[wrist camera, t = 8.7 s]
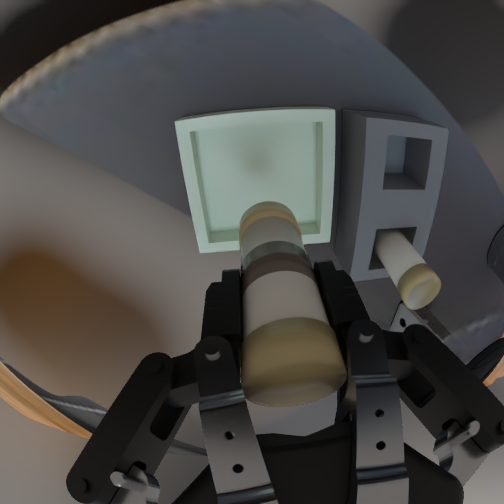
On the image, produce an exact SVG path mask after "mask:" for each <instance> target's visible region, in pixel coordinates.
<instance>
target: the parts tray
mask: <svg viewBox="0 0 504 504" xmlns="http://www.w3.org/2000/svg"><path fill="white" fill-rule="evenodd" d="M175 127H176V133H177V139H178V145H179V151H180V157H181V163H182V168H183V174H184V179H185V184H186V189H187V195H188V200H189V205H190V209H191V214H192V219H193V224H194V228H195V233H196V238H197V242H198V247H199V251H200V253H209V252H220V251H232V250H240V247H239V223H240V220H241V217H242V216H243V214H244V213H245V211H246V210H247V209H249V208H250V207H251V206H253V205H255V204H257V203H260V202H265V201H274V202H278V203H281V204H283V205H285V206H287V207H288V208H289V209H290V210H291V211H292V212H293V214H294V216H295V218H296V221H297V223H298V226H299V229H300V231H301V235H302V242H303V244H313V243H324V242H330V234H331V222H332V208H333V191H334V168H335V109H332V108H328V107H319V106H297V107H269V108H253V109H241V110H231V111H222V112H214V113H207V114H200V115H193V116H187V117H182V118H180V119H178V120H176V121H175Z"/></svg>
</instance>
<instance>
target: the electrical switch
mask: <svg viewBox="0 0 504 504" xmlns="http://www.w3.org/2000/svg"><path fill="white" fill-rule="evenodd" d="M424 316H425V317H424ZM426 318H427V319H428V320H429V321H430V322H428V321H427V320H426ZM411 324H420V325H423V326H425V327H427V328H428V329H429V330H430V331H431V332H432V333H433V334H434V335H435V336H436V337H437V338H439V339H440V340H441V341H442V342H443V343H444V344H445V342H446V341H447V339H448V337H449V336H450V332H449V331H448V330H447V329H446V328H445V327H444V326H443V325H442V324H441V322H440V321H439V320H438V319H437V318H436V317H435V316H434V315H433V314H432V313H431V312H430V311H429V310H428V309H427V308H426V307H425V306H424V307H422V308H420V309H415V310H411V309H408V308H407V307H406V305H405V303H404V302H403V303H401V304H400V305H399V308H398V310H397V313H396V315H395V318H394V320H393V323H392V325H391V327H390V330H389V331H393V332H403V331H404V330H405V328H406V327H407V326H409V325H411ZM431 328H432V329H431Z"/></svg>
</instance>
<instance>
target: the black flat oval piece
mask: <svg viewBox="0 0 504 504" xmlns="http://www.w3.org/2000/svg"><path fill="white" fill-rule="evenodd" d="M503 355H504V338H502V339H499V340H498V341H496V342H494V343H493V344H491V345H490V346H489V347H487V348H486V349H485V350H483V351H482V352H481V353H480V354H479V355H477V356H476V357H475V358H474V359H473V360H472V361H471V362H470V363H469V364H468V365H466V366H467V367H468V368H469V369H470V370H471V371H472V372H473V373H474V374H475V375H476V376H477V377H478V378H479V379H480V381H481V382H483V381H484V380H485V379H486V378H487V377H488V376H489V375H490V374H491V372H492V371H493V370H494V368H495V367H496V366H497V364H498V363H499V362H500V360H501V359H502V357H503Z"/></svg>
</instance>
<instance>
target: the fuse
mask: <svg viewBox="0 0 504 504" xmlns="http://www.w3.org/2000/svg"><path fill="white" fill-rule="evenodd" d="M373 250H374V251H375V253H376V254H377V256H378V257H379V259H380V261H381V262H382V264H383V265H384V267H385V269H386V270H387V272H388V274H389V275H390V277H391V278H392V280H393V282H394V284H395V285H396V287H397V291H398V293H399V294H400V296H401V298H402V300H403V302H404V303H405V305H406V307H407V308H408V309H411V310H415V309H420V308H422V307H424V306H426V305H427V304H429V303H430V302H431V301H432V300H433V299H434V298H435V297H436V296H437V294H438V293H439V291H440V288H441V281H440V279H439V278H438V276H437V275H436V274H435V272H434V271H433V270H432V268H431V267H430V266H429V265H428V264H426V262H425V261H424V260H423V258H422V257H421V256H420V255H419V253H418V252H417V251H416V250H415V248H414V247H413V246H412V245H411V243H410V242H409V241H408V240H407V238H406V237H405V236H404V235H403V234H402V232H401V231H400V230H399V229H398V228H389V229H376V234H375V240H374V245H373Z"/></svg>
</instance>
